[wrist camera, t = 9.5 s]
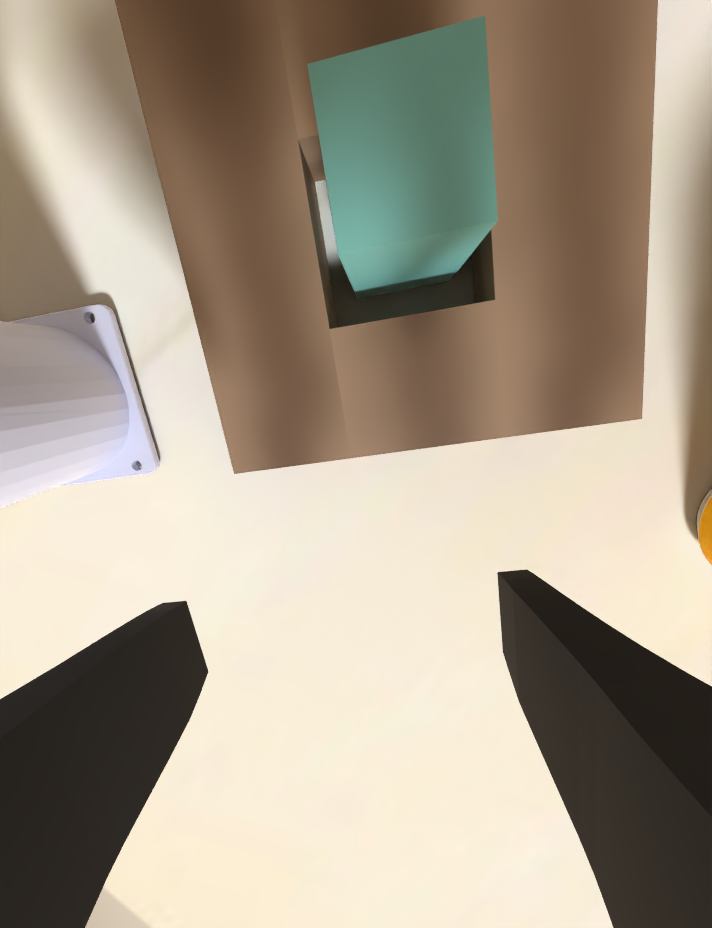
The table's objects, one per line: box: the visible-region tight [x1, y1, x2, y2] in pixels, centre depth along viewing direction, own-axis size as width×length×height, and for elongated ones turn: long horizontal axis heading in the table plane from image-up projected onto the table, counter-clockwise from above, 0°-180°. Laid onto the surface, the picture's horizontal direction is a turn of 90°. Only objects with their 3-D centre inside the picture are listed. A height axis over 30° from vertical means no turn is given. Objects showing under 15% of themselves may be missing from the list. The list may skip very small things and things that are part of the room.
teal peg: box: [307, 16, 498, 299], centre depth 12 cm, size 4×4×7 cm
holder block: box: [115, 0, 658, 474], centre depth 14 cm, size 16×16×3 cm
